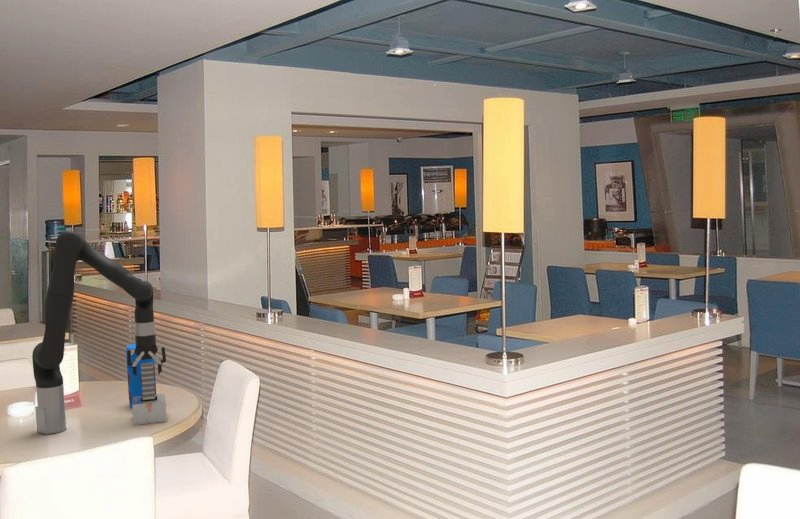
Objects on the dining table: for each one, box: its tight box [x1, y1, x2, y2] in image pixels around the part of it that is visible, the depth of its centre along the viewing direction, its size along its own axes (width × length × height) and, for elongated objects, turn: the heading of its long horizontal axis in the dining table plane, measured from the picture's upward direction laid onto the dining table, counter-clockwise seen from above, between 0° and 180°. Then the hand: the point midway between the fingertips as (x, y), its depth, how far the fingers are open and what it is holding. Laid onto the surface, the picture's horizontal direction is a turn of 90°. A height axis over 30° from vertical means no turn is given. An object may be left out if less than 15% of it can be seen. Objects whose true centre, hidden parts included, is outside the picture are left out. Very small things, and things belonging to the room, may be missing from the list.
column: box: [141, 362, 155, 401], centre depth 304 cm, size 4×4×16 cm
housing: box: [131, 393, 167, 426], centre depth 304 cm, size 13×12×8 cm
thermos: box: [125, 343, 157, 410], centre depth 323 cm, size 11×11×25 cm
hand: (147, 374), depth 303 cm, fingers open, 8 cm apart
